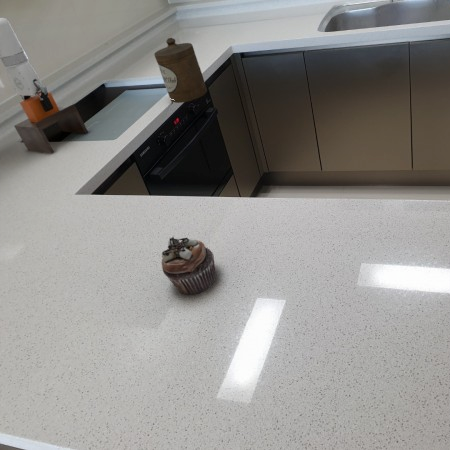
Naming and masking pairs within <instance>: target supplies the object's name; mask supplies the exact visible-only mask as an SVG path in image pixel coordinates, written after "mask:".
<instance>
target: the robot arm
mask: <svg viewBox="0 0 450 450" xmlns="http://www.w3.org/2000/svg"><path fill="white" fill-rule="evenodd" d="M0 61H1V63H2V65H3V66H4V69H5V71H6V74H7V76H8V80H9V82H10V83H11V85H12V87H13V89H14V91H15V92H16V94H17V95H18V96H20V97H21V99H22V101H24V100H27V99H29V98H31V97H33V96H35V95H36V96H37V97H38V98H39V99H40V100H41V101H40V103H41V105H42V107H43V109H44V111H45V112H48V111H50V110H52V109H53V108H54V107H53V105H52V103H51V102H50V100H49V96H48V93H49V92H48V89H47V86H46V85H44V84H43V83H42V81H41V79H40V77H39V75H38V73H37V72H36V70H35V69H34V67H33V66H32V64H31V63H30V62H29V61H30V59H29V57H28V55H27V53H26V52H25V50H24V47H23V46H22V43H21V42H20V40H19V38H18V36H17V34H16V32H15V31H14V29H13V27H12V25H11V23H10V21H9V20H8V19H7V18H5V17H0ZM40 93H41V96H40V95H39V94H40Z"/></svg>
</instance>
